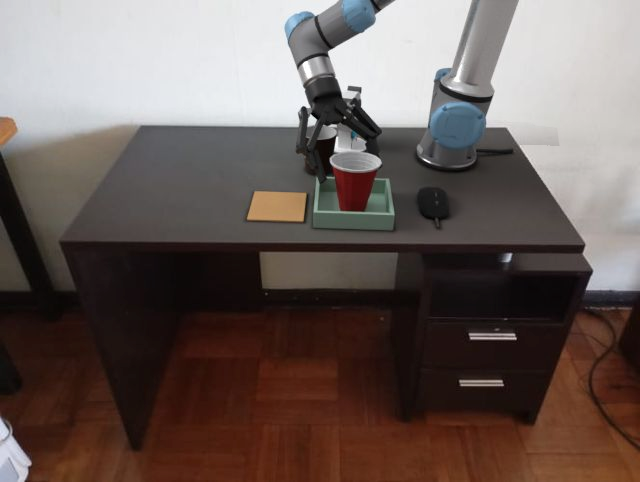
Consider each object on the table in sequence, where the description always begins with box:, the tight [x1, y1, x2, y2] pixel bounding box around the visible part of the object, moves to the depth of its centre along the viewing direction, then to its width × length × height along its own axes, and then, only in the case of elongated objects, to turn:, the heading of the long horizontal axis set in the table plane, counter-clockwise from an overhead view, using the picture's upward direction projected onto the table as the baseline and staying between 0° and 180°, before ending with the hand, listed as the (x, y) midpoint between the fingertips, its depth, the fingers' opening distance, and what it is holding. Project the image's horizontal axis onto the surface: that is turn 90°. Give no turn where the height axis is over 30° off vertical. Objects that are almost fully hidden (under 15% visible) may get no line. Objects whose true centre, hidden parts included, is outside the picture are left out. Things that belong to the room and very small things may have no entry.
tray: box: [312, 176, 396, 231], centre depth 110 cm, size 17×16×4 cm
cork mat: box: [246, 190, 307, 224], centre depth 111 cm, size 12×12×1 cm
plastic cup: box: [330, 151, 383, 212], centre depth 107 cm, size 11×11×12 cm
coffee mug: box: [303, 124, 338, 176], centre depth 125 cm, size 12×9×10 cm
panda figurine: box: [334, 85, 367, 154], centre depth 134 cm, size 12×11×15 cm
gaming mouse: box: [417, 186, 449, 229], centre depth 110 cm, size 6×15×4 cm, turn 177°
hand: (351, 175), depth 107 cm, fingers open, 13 cm apart
